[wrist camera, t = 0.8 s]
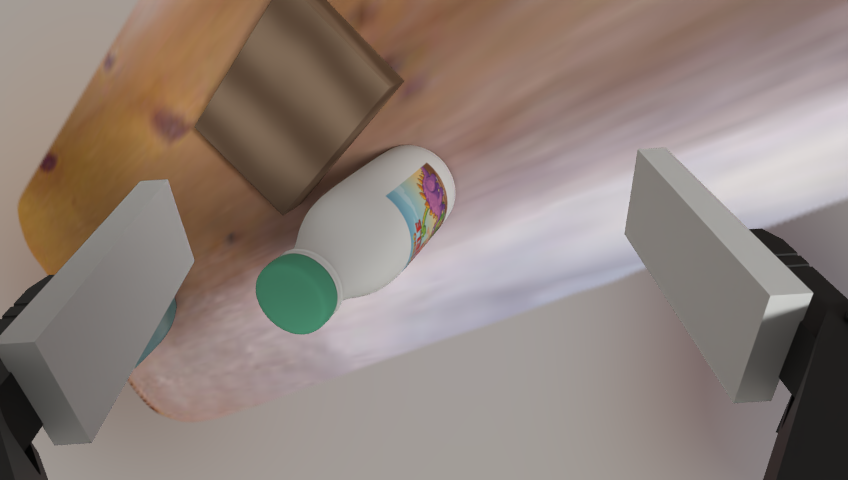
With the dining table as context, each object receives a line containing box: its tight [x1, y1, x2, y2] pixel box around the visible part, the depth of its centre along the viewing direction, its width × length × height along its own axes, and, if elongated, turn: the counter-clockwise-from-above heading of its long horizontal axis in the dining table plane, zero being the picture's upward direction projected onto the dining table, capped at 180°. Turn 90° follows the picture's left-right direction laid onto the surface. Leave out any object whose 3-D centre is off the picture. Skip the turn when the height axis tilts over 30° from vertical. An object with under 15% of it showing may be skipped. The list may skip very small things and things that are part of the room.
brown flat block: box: [195, 0, 404, 215], centre depth 47 cm, size 16×11×3 cm
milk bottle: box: [256, 145, 455, 334], centre depth 39 cm, size 8×8×20 cm
